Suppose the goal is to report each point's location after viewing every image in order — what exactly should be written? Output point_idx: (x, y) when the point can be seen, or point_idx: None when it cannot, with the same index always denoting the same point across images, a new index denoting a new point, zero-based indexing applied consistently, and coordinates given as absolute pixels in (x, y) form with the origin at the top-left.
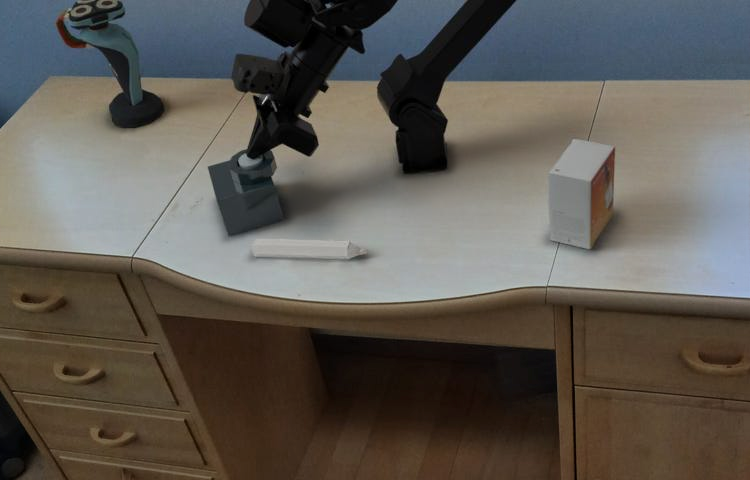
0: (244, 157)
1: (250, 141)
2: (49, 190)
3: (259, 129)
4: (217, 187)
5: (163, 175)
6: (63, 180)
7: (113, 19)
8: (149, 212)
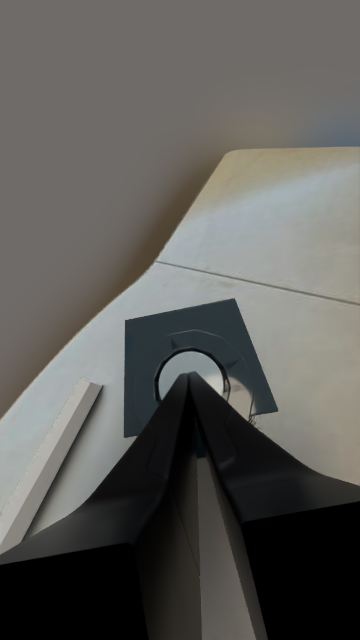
0: (199, 366)
1: (198, 389)
2: (276, 190)
3: (148, 460)
4: (162, 318)
5: (296, 265)
6: (291, 194)
7: None
8: (222, 263)
